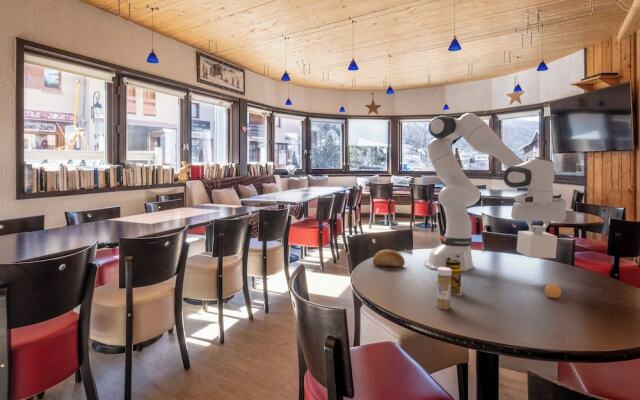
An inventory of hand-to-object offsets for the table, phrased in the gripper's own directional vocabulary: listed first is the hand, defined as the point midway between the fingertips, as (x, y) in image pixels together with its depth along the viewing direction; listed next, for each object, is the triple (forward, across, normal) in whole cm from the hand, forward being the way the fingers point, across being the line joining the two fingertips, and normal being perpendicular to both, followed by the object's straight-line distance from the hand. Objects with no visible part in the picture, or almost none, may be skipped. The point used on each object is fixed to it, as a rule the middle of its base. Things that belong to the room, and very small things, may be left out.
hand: (537, 231), depth 150 cm
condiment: (+22, +38, +14) cm, 46 cm away
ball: (+18, +4, +20) cm, 27 cm away
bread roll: (+22, +56, -22) cm, 64 cm away
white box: (+10, 0, 0) cm, 10 cm away
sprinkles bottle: (+21, +46, +30) cm, 58 cm away
